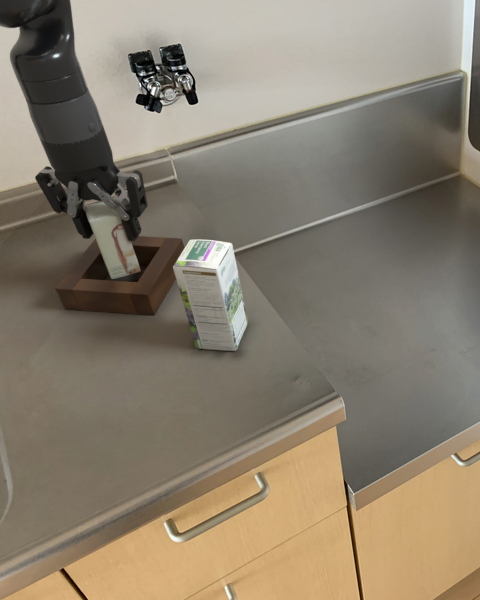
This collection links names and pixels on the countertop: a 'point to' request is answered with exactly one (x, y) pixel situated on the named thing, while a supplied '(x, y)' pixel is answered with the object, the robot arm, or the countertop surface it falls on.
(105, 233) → the white product box
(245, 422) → the countertop surface
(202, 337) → the syrup box
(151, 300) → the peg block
